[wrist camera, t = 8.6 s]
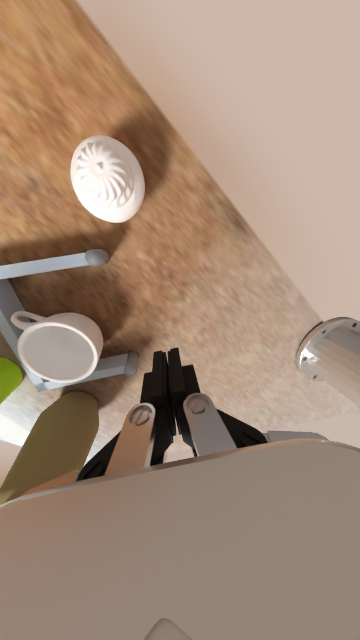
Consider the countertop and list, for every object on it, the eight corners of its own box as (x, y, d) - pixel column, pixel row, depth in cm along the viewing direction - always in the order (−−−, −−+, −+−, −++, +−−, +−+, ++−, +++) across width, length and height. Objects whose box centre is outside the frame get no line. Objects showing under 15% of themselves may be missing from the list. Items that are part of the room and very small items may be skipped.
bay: (107, 248, 20) (99, 248, 17) (139, 358, 27) (137, 374, 23) (-12, 266, 19) (-44, 270, 16) (51, 377, 25) (36, 396, 22)
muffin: (74, 166, 17) (28, 117, 11) (134, 150, 17) (123, 92, 11) (101, 233, 20) (76, 226, 13) (153, 218, 20) (154, 204, 13)
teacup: (120, 329, 24) (112, 350, 19) (88, 365, 26) (73, 393, 21) (50, 281, 21) (18, 291, 16) (17, 326, 22) (-22, 348, 17)
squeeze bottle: (56, 424, 29) (-71, 657, 12) (45, 386, 26) (-142, 626, 9) (107, 419, 30) (54, 625, 14) (102, 382, 27) (25, 589, 11)
